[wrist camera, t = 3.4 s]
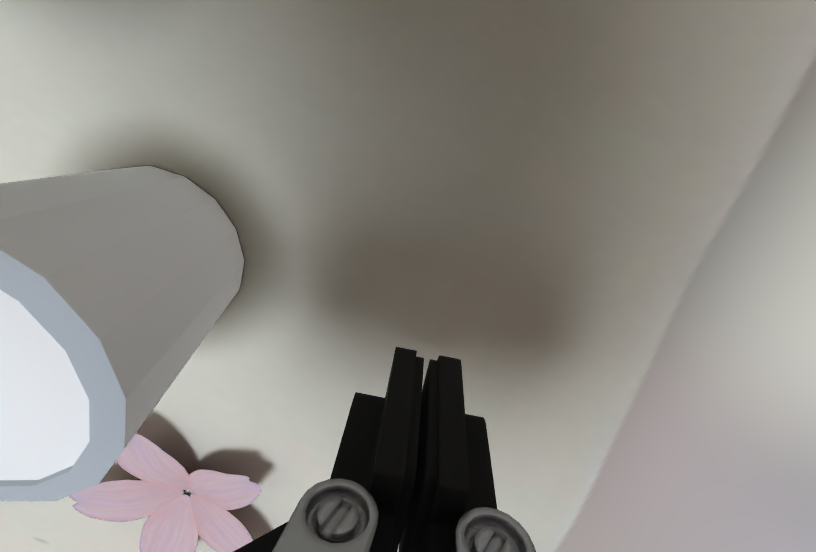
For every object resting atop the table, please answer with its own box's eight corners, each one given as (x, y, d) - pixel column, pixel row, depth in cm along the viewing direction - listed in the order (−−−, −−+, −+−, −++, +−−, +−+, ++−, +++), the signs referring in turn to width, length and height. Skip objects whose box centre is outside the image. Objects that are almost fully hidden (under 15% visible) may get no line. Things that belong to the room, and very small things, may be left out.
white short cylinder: (258, 157, 13) (84, 230, 7) (265, 349, 16) (148, 527, 10) (36, 132, 13) (-338, 178, 7) (83, 325, 16) (-152, 485, 10)
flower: (233, 369, 16) (213, 396, 15) (339, 541, 20) (331, 576, 19) (33, 426, 18) (-1, 454, 17) (162, 573, 22) (143, 607, 21)
